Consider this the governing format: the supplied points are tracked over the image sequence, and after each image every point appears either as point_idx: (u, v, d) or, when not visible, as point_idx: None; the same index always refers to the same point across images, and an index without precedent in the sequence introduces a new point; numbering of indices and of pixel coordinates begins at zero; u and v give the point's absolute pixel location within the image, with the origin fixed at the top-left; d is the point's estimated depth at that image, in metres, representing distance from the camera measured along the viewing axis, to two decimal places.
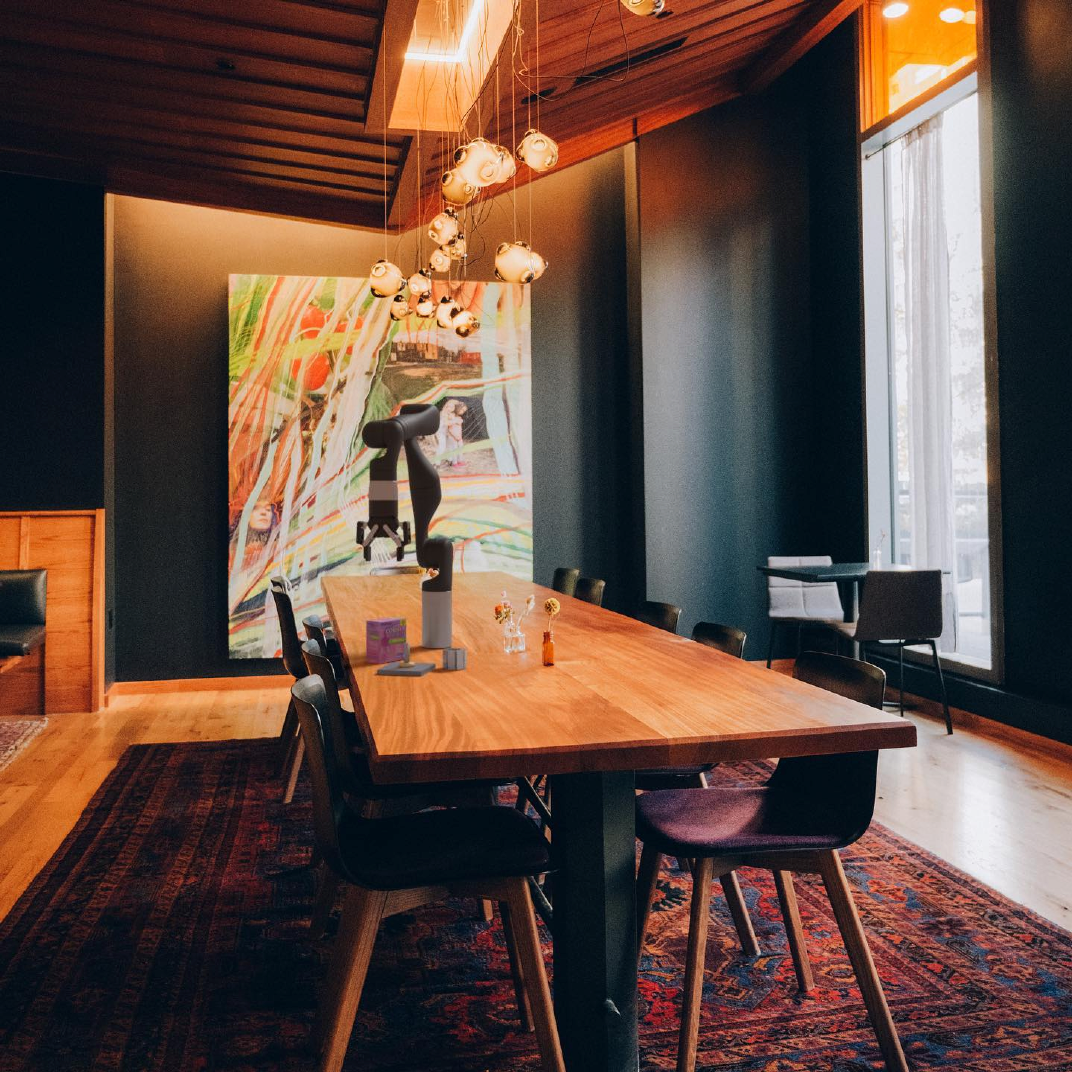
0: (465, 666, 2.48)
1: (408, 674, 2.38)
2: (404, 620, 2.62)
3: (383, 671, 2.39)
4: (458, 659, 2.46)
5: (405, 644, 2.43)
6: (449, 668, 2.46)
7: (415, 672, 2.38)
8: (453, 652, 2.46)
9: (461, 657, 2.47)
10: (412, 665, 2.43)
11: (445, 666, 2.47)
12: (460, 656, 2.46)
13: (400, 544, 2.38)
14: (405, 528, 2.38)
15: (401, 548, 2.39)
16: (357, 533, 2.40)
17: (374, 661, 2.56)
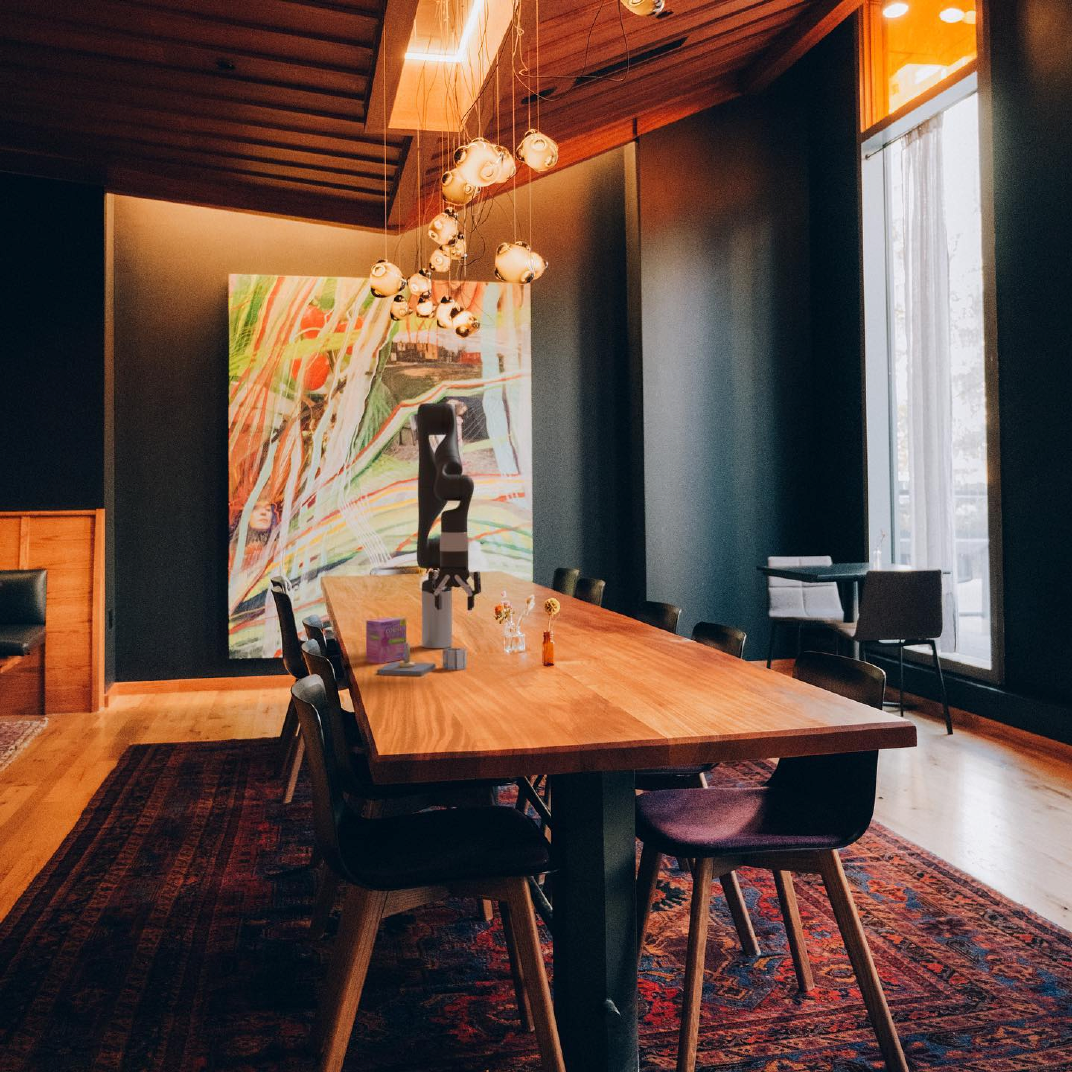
0: (465, 666, 2.48)
1: (408, 674, 2.38)
2: (404, 620, 2.62)
3: (383, 671, 2.39)
4: (458, 659, 2.46)
5: (405, 644, 2.43)
6: (449, 668, 2.46)
7: (415, 672, 2.38)
8: (453, 652, 2.46)
9: (461, 657, 2.47)
10: (412, 665, 2.43)
11: (445, 666, 2.47)
12: (460, 656, 2.46)
13: (471, 594, 2.46)
14: (476, 578, 2.46)
15: (472, 597, 2.47)
16: (429, 583, 2.48)
17: (374, 661, 2.56)
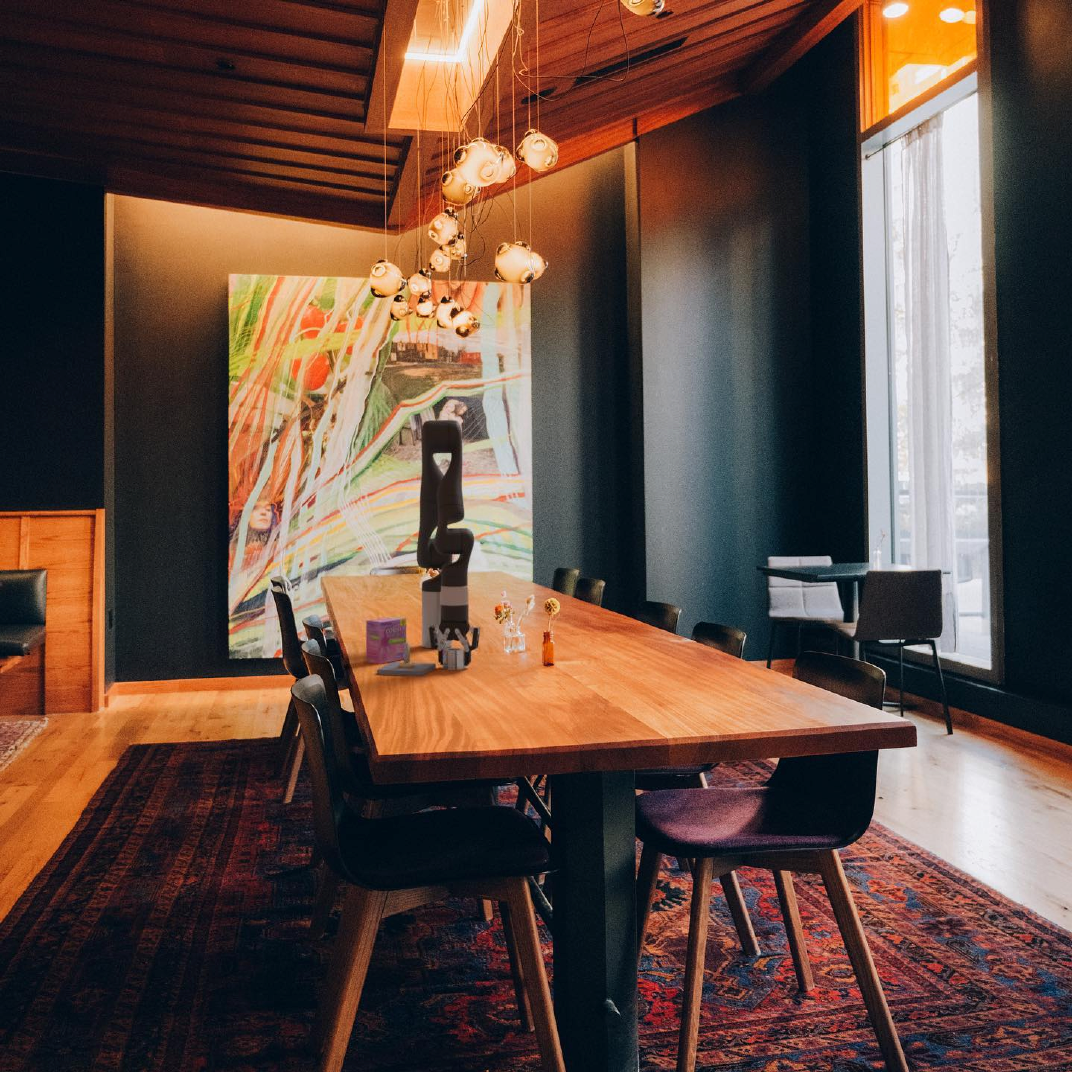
0: (465, 666, 2.48)
1: (408, 674, 2.38)
2: (404, 620, 2.62)
3: (383, 671, 2.39)
4: (458, 659, 2.46)
5: (405, 644, 2.43)
6: (449, 668, 2.46)
7: (415, 672, 2.38)
8: (453, 652, 2.46)
9: (461, 657, 2.47)
10: (412, 665, 2.43)
11: (445, 666, 2.47)
12: (460, 656, 2.46)
13: (468, 649, 2.47)
14: (475, 634, 2.46)
15: (468, 653, 2.47)
16: (431, 638, 2.49)
17: (374, 661, 2.56)
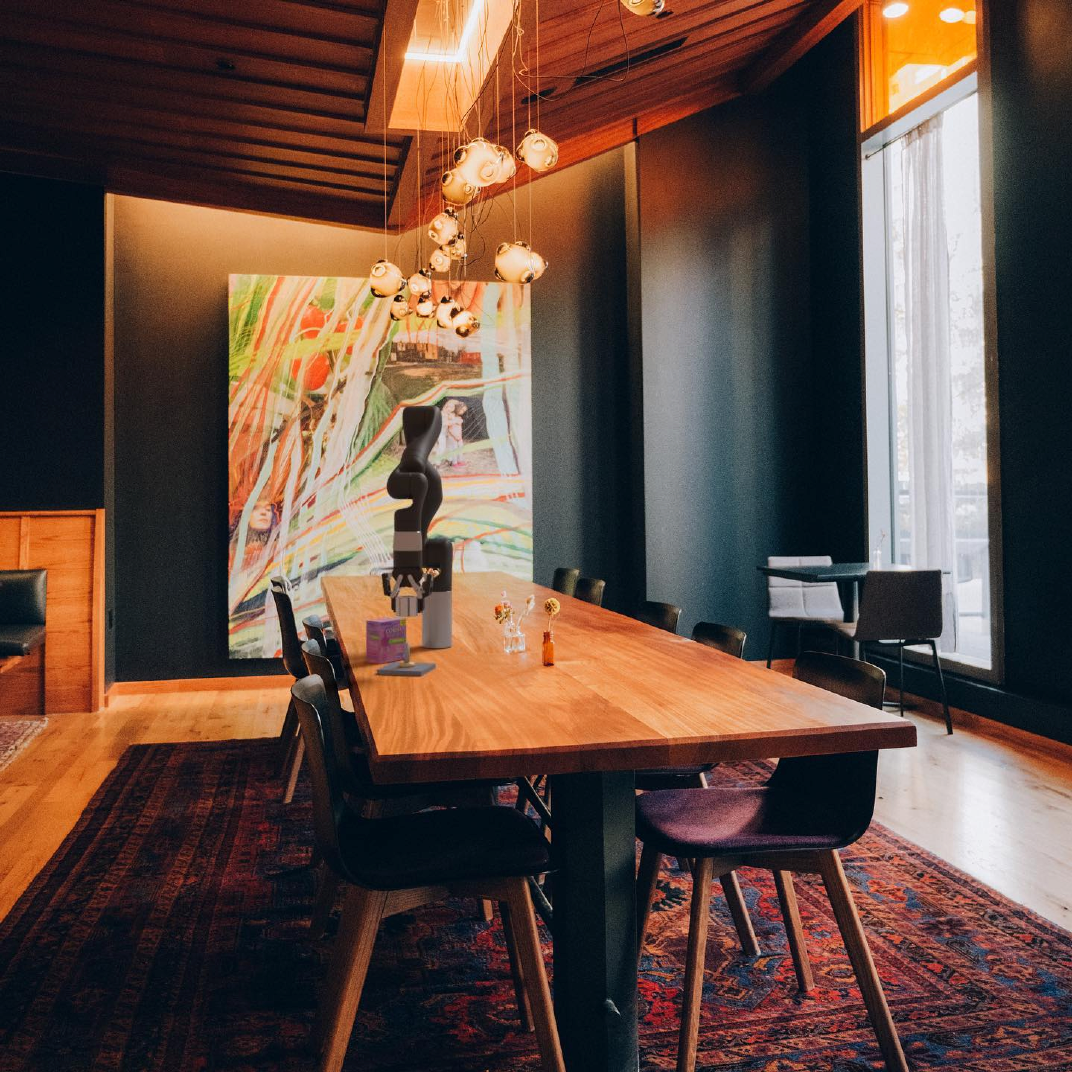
0: (418, 613, 2.43)
1: (408, 674, 2.38)
2: (404, 620, 2.62)
3: (383, 671, 2.39)
4: (411, 606, 2.41)
5: (405, 644, 2.43)
6: (402, 615, 2.41)
7: (415, 672, 2.38)
8: (406, 599, 2.41)
9: (414, 604, 2.41)
10: (412, 665, 2.43)
11: (398, 613, 2.42)
12: (413, 603, 2.41)
13: (421, 596, 2.42)
14: (428, 580, 2.41)
15: (422, 600, 2.42)
16: (383, 585, 2.44)
17: (374, 661, 2.56)
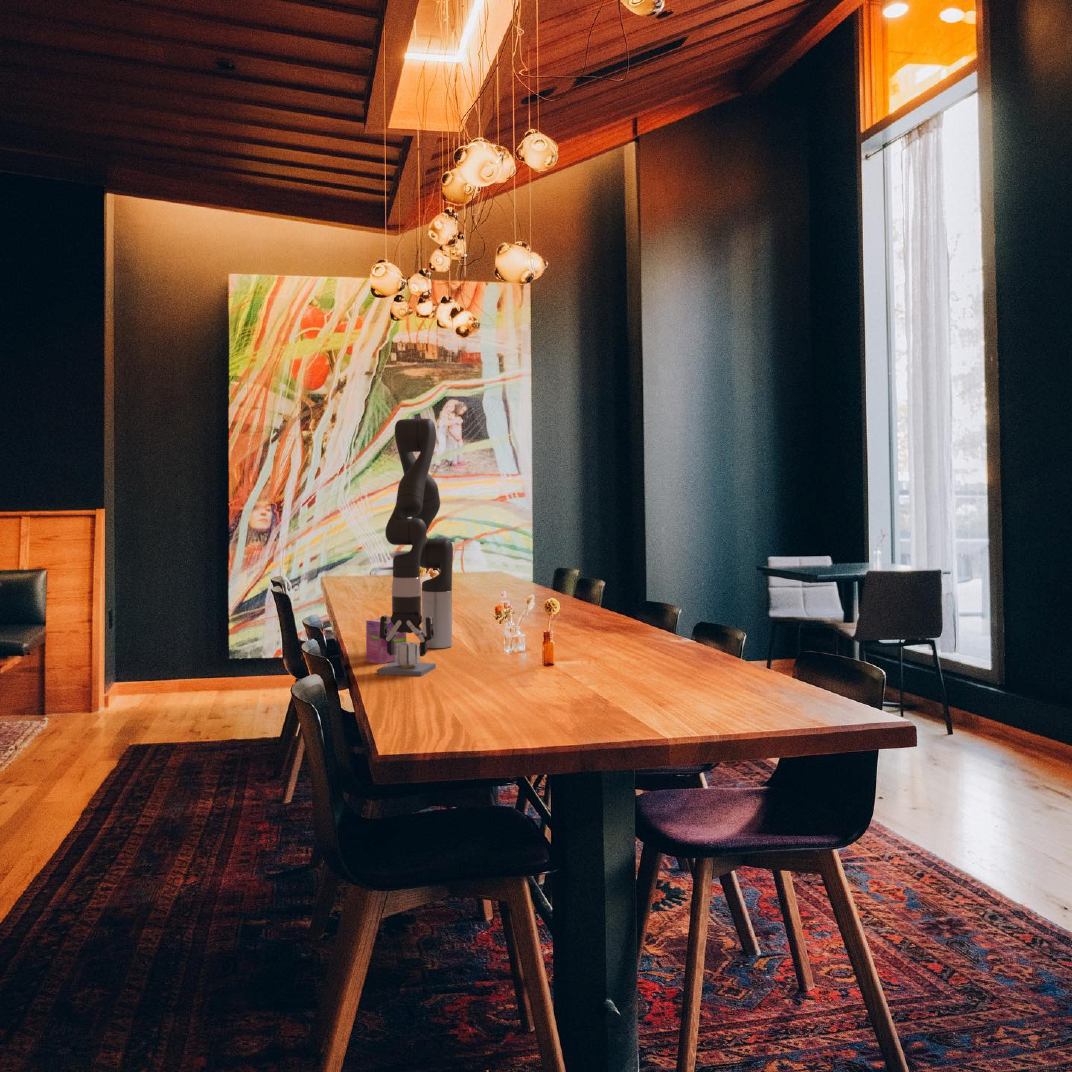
0: (417, 661, 2.44)
1: (408, 674, 2.38)
2: None
3: (383, 671, 2.39)
4: (410, 653, 2.41)
5: (405, 644, 2.43)
6: (401, 663, 2.41)
7: (415, 672, 2.38)
8: (405, 646, 2.41)
9: (413, 652, 2.42)
10: (412, 665, 2.43)
11: (397, 661, 2.42)
12: (412, 650, 2.42)
13: (423, 639, 2.42)
14: (428, 624, 2.41)
15: (424, 643, 2.42)
16: (380, 628, 2.44)
17: (374, 661, 2.56)
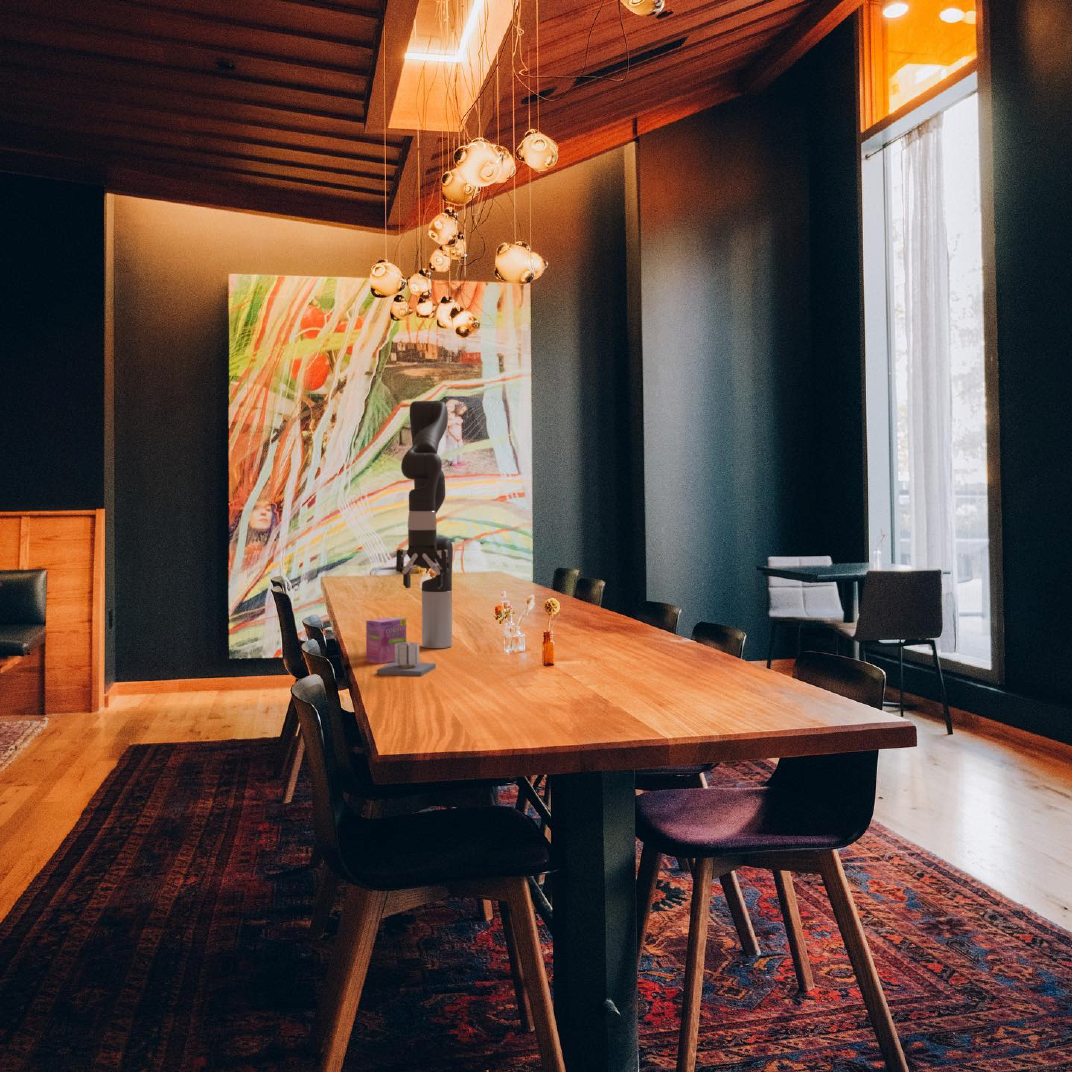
0: (417, 661, 2.44)
1: (408, 674, 2.38)
2: (404, 620, 2.62)
3: (383, 671, 2.39)
4: (410, 653, 2.41)
5: (405, 644, 2.43)
6: (401, 663, 2.41)
7: (415, 672, 2.38)
8: (405, 646, 2.41)
9: (413, 652, 2.42)
10: (412, 665, 2.43)
11: (397, 661, 2.42)
12: (412, 650, 2.42)
13: (439, 572, 2.46)
14: (444, 557, 2.45)
15: (440, 576, 2.47)
16: (397, 561, 2.48)
17: (374, 661, 2.56)
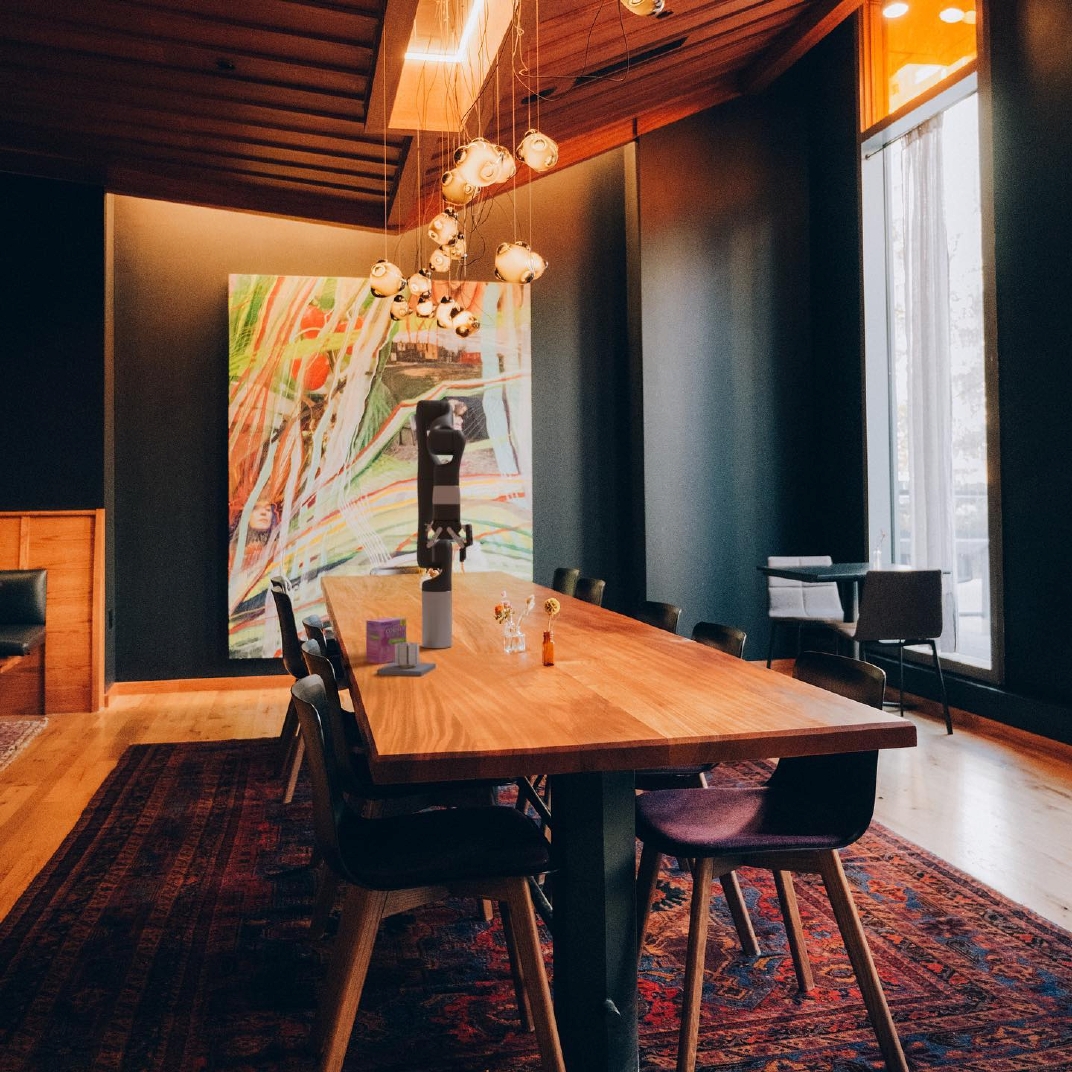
0: (417, 661, 2.44)
1: (408, 674, 2.38)
2: (404, 620, 2.62)
3: (383, 671, 2.39)
4: (410, 653, 2.41)
5: (405, 644, 2.43)
6: (401, 663, 2.41)
7: (415, 672, 2.38)
8: (405, 646, 2.41)
9: (413, 652, 2.42)
10: (412, 665, 2.43)
11: (397, 661, 2.42)
12: (412, 650, 2.42)
13: (463, 545, 2.52)
14: (468, 530, 2.52)
15: (464, 549, 2.53)
16: (422, 535, 2.55)
17: (374, 661, 2.56)
